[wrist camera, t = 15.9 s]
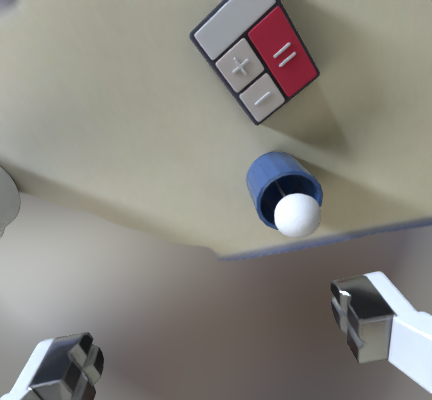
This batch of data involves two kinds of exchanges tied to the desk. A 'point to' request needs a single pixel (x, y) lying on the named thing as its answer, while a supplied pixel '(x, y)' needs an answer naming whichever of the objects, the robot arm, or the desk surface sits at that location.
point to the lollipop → (297, 214)
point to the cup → (286, 178)
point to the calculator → (255, 54)
